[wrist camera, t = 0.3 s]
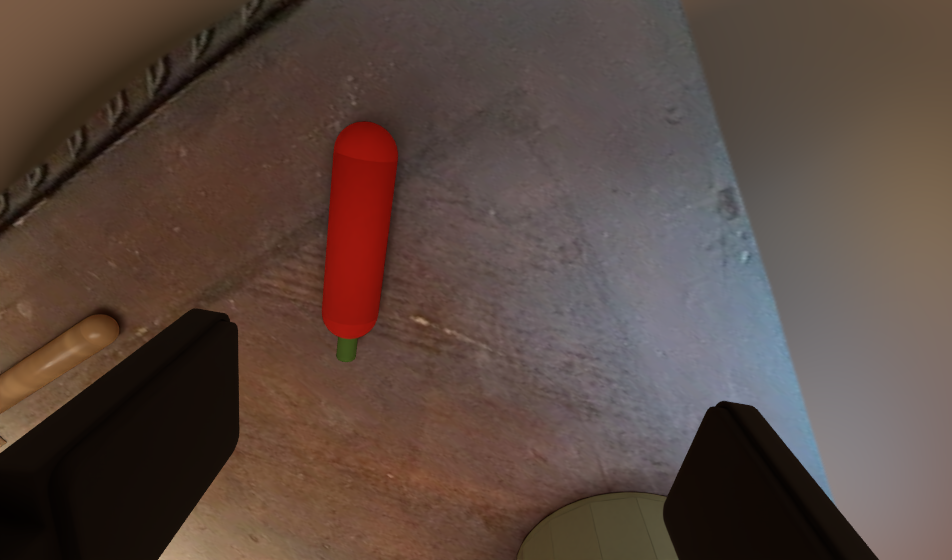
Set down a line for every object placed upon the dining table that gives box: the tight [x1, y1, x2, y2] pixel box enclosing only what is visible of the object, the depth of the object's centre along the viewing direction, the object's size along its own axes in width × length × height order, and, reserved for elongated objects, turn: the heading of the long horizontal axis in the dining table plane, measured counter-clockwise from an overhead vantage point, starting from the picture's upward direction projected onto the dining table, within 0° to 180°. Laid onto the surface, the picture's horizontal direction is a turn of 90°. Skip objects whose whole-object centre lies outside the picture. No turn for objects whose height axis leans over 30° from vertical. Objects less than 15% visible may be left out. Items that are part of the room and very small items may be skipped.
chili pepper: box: [322, 121, 398, 362], centre depth 23 cm, size 12×3×3 cm, turn 169°
